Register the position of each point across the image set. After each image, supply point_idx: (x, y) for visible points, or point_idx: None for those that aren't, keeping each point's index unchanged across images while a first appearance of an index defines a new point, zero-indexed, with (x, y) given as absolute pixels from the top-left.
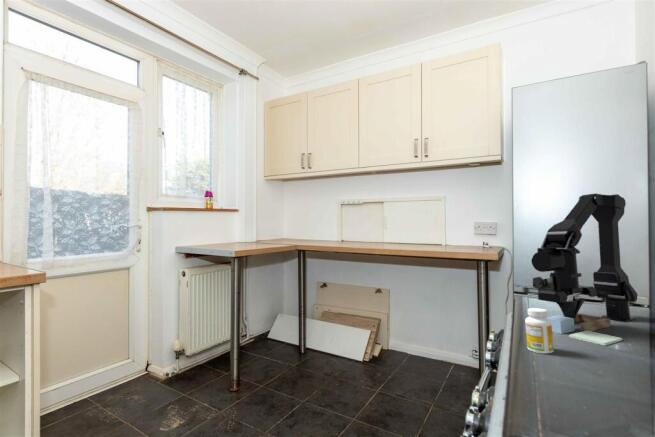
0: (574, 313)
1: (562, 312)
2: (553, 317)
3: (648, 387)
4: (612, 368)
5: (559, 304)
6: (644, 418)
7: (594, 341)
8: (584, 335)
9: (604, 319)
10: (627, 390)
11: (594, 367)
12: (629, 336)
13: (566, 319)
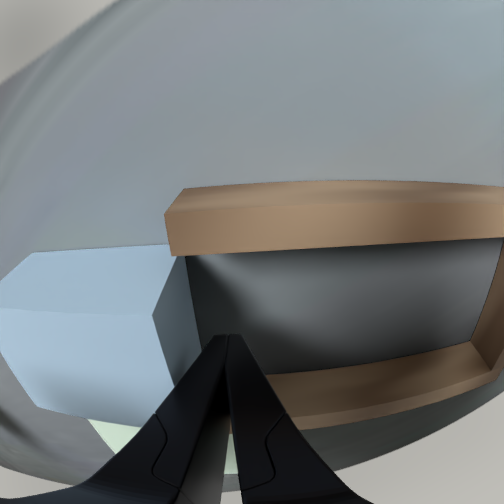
0: (222, 463)
1: (161, 404)
2: (44, 342)
3: (46, 479)
4: (39, 462)
5: (94, 494)
6: (5, 466)
7: (112, 448)
8: (130, 426)
9: (465, 389)
10: (19, 466)
11: (14, 447)
12: (334, 451)
13: (103, 418)
